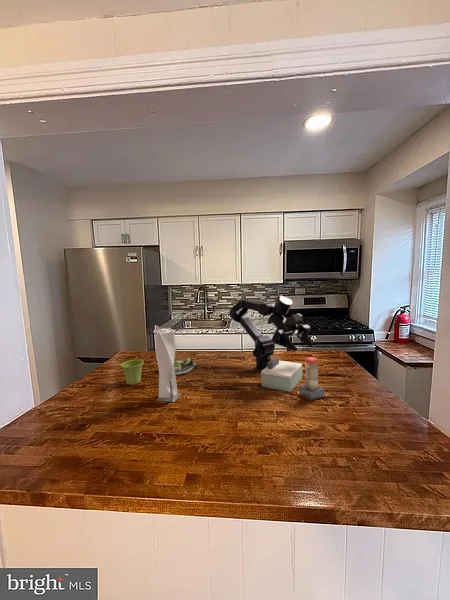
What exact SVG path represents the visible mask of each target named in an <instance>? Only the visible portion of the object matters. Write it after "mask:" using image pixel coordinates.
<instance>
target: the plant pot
mask: <svg viewBox="0 0 450 600" xmlns="http://www.w3.org/2000/svg"><path fill="white" fill-rule="evenodd" d="M143 365H144V361H143V360H142V359H131V360H126V361H124V362H121V364H120V367H121V368H122V370H123V374H124V378H125V382H126V384H127V385H131V386H132V385H137V384H139V383H141V381H142V370H143Z"/></svg>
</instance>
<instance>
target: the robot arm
mask: <svg viewBox="0 0 450 600" xmlns="http://www.w3.org/2000/svg"><path fill="white" fill-rule="evenodd" d="M292 305H293V300H292V299H291V298H288V297H286V296H283V295H278V297H277V299H276V302H272V301H271V302H259V301H256V300H255V301H254V300H251V299H248V298H245V299H244V298H243V299H240V300H239V301H238V302H237V303H236V304H234V305H233V306H232V307H231V308H230V310H229V317H230V318H231V319H232V320H233V321H234V322H236V323H238V324H240V325H241V327H242V328H243V329H244V330H245V332H246V333H247V334H248V335H249V337H250V338H251V339H252V340H253V342H254V349H253V351H252V355H253V357H255V362H256V363H255V365H256V366H255V367H254V369H255V370H260V371H262V370H264V369H265V368H266V367H267V363H268V362H269V361H270V360H272V359H273V358H271V356H273V355H274V353H275V349H276V345H277V346H281V347H284V348H287V349H288V350H292V351H294V352H297V351H298V348H297V347H296V345H295V344H294V343H293V341H292V340H291V338H292V337H295V336H296V337H297V338H298V339H299V341H301V342H302V343H304V344H305V345H307V346H308V347H310V348H312V347H313V346H314V343H313V342H312V339H311V338H310V335H309V334H310V333H309V332H310V331H311V329H312V328H311V326H310V325H308V324H302V325H299V324H300V323H302V322H303V320H304V317H303V315H302V314H301V313H296V314H291V315H290V316H289V317H287V318H286V317H285V315H288V313H289V310H291V308H292ZM249 310H251V311H256V312H257V313H258V314H260V315H261V316H263V317H267V324H268V325H270V324H271V325H272V324H273V325H274V326H275V328H276V329H275V331H274V333H273V335H272V337H270V335H263V334H262V333H261V332H260V331H259V330H258V328H257V327H256V326H255V325H254V324H253V322H252V321H251V320H250V319H249V317H248V312H249ZM268 316H269V317H268ZM298 325H299V328H298ZM297 328H298V329H297Z"/></svg>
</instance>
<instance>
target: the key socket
mask: <svg viewBox="0 0 450 600" xmlns="http://www.w3.org/2000/svg"><path fill="white" fill-rule="evenodd" d="M298 387H299V390H298V392H299V394H300V395H301V396H303V397H305V398H307V399H308V400H310V401H314V400H317V399H320V398H324V397H325V396H326V395H325V394H326V392H325V389H326V388H324V387H322V386H320V385H318V389H316V390H312V391H311V390H309V389H307V388H306V383H305V384H302V385H299V386H298Z"/></svg>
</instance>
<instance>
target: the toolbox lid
mask: <svg viewBox="0 0 450 600" xmlns="http://www.w3.org/2000/svg"><path fill="white" fill-rule="evenodd" d="M271 359H272V360H270V361H269V362H268V363H267V367H266V368H265V369H264V370H260V373H261V374H266V375H272V376H278V377H283V378H289V379H290V378H291V377H292V376H293V375H294V374H295V373H296V372H297V371H298V370H299V369H300V368H301V367H302V368H303V363H300V362H293V361H287V360H280V358H279V357H273V358H271Z"/></svg>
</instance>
